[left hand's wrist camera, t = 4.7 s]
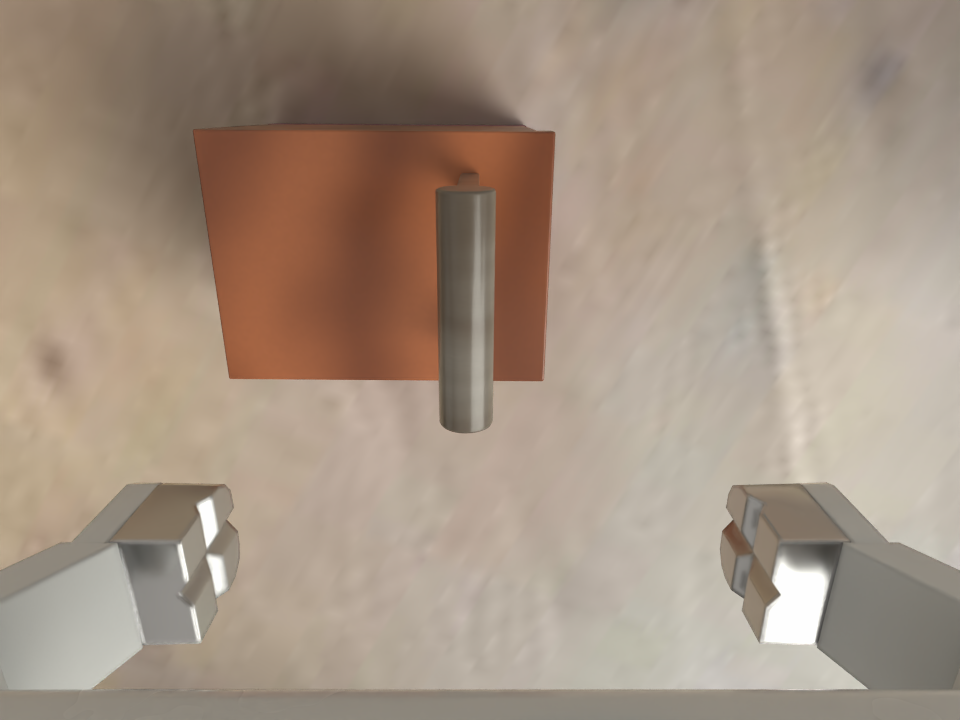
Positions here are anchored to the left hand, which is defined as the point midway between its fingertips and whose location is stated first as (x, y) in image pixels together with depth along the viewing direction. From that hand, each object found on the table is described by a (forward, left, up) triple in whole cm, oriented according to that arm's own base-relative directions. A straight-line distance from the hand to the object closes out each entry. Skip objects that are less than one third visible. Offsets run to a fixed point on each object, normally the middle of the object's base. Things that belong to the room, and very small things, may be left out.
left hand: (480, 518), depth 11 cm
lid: (+1, -4, -17) cm, 17 cm away
